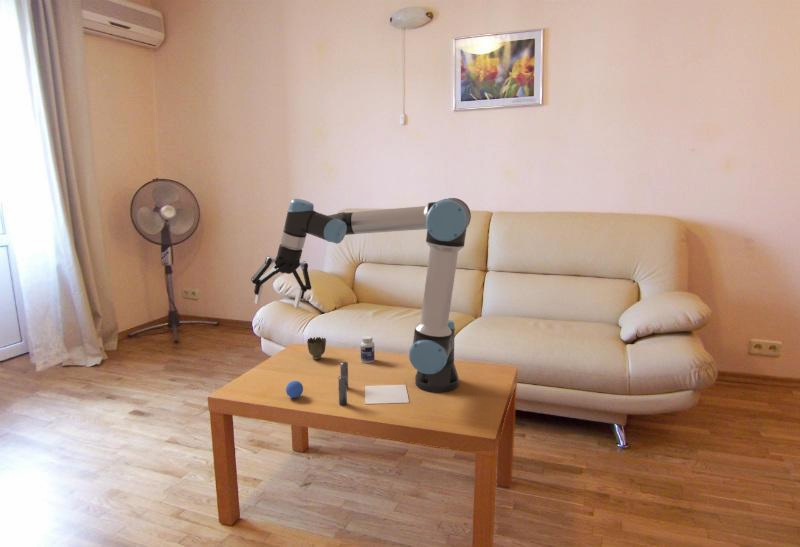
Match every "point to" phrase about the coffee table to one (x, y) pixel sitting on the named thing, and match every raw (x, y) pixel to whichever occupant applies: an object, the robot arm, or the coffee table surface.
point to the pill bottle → (367, 349)
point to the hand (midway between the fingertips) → (276, 305)
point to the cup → (316, 347)
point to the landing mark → (386, 394)
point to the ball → (294, 389)
